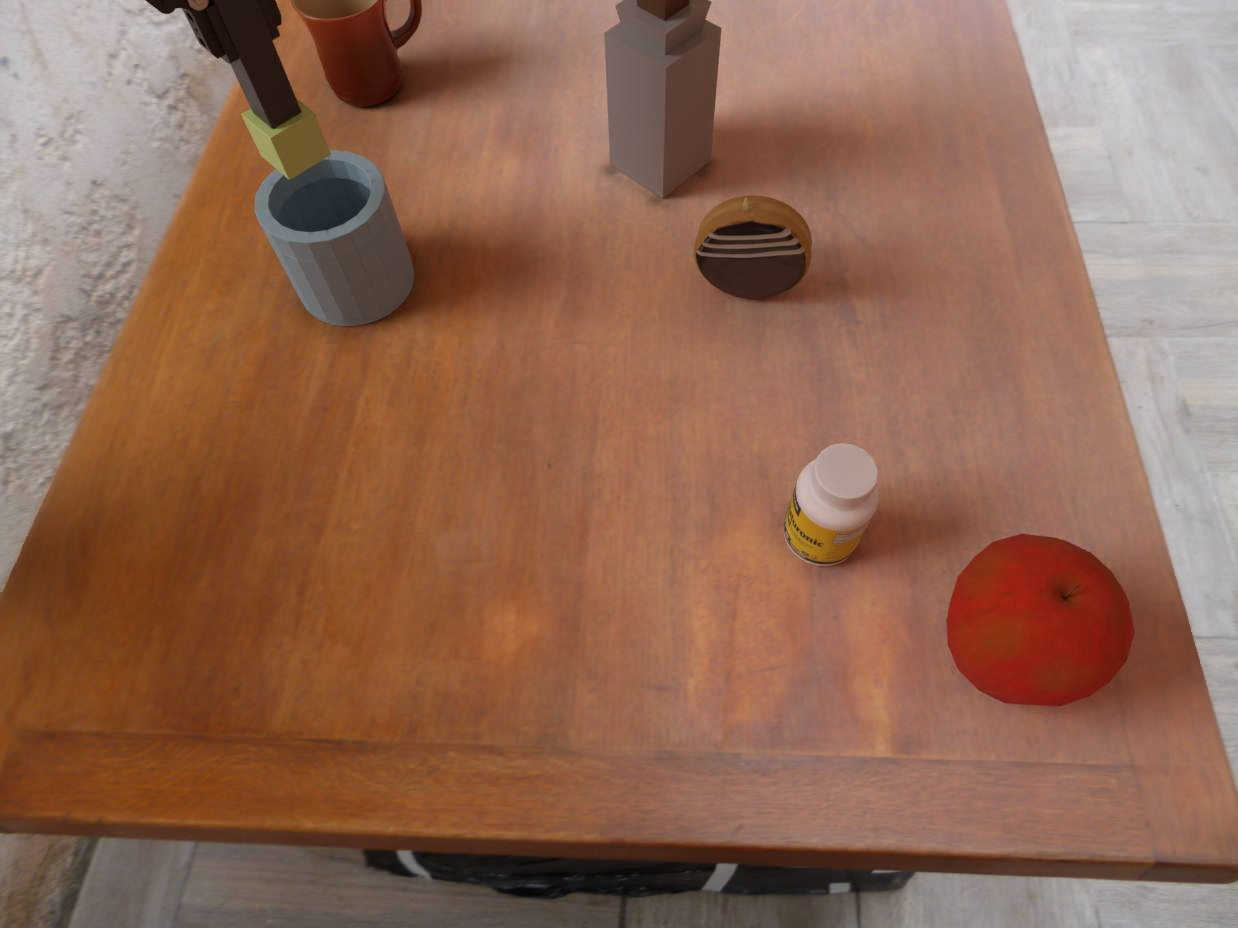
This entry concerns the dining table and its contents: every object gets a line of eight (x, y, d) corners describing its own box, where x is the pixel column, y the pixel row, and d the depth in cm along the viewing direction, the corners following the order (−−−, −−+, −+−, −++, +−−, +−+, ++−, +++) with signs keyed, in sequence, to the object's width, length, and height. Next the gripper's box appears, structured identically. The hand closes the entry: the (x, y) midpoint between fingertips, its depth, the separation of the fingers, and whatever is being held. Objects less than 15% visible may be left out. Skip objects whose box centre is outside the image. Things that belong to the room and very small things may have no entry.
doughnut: (689, 296, 73) (695, 209, 64) (695, 264, 75) (702, 174, 66) (799, 311, 72) (821, 224, 63) (803, 278, 74) (825, 189, 65)
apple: (921, 571, 60) (976, 496, 50) (1068, 583, 59) (1154, 510, 49) (932, 716, 55) (996, 665, 45) (1092, 731, 54) (1194, 683, 44)
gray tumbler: (344, 346, 71) (303, 263, 62) (277, 283, 75) (229, 196, 66) (437, 280, 74) (410, 192, 66) (369, 222, 78) (334, 132, 69)
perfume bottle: (710, 161, 81) (726, -27, 65) (662, 199, 79) (667, 14, 63) (657, 129, 83) (660, -60, 68) (610, 165, 81) (601, -22, 65)
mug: (347, 128, 84) (312, 32, 76) (312, 81, 88) (275, -16, 79) (454, 83, 88) (432, -15, 79) (416, 40, 91) (391, -59, 82)
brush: (289, 180, 60) (203, -8, 48) (261, 156, 61) (169, -33, 49) (331, 155, 61) (256, -35, 49) (302, 131, 62) (223, -59, 51)
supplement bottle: (768, 516, 62) (788, 448, 54) (834, 490, 63) (863, 420, 55) (803, 580, 60) (830, 520, 51) (871, 552, 61) (908, 489, 52)
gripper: (184, -372, 42) (304, -26, 57) (-91, -279, 38) (118, 71, 53) (269, -331, 40) (372, 21, 55) (-17, -226, 35) (181, 127, 50)
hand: (246, 44), depth 54 cm, fingers closed on brush, 2 cm apart
